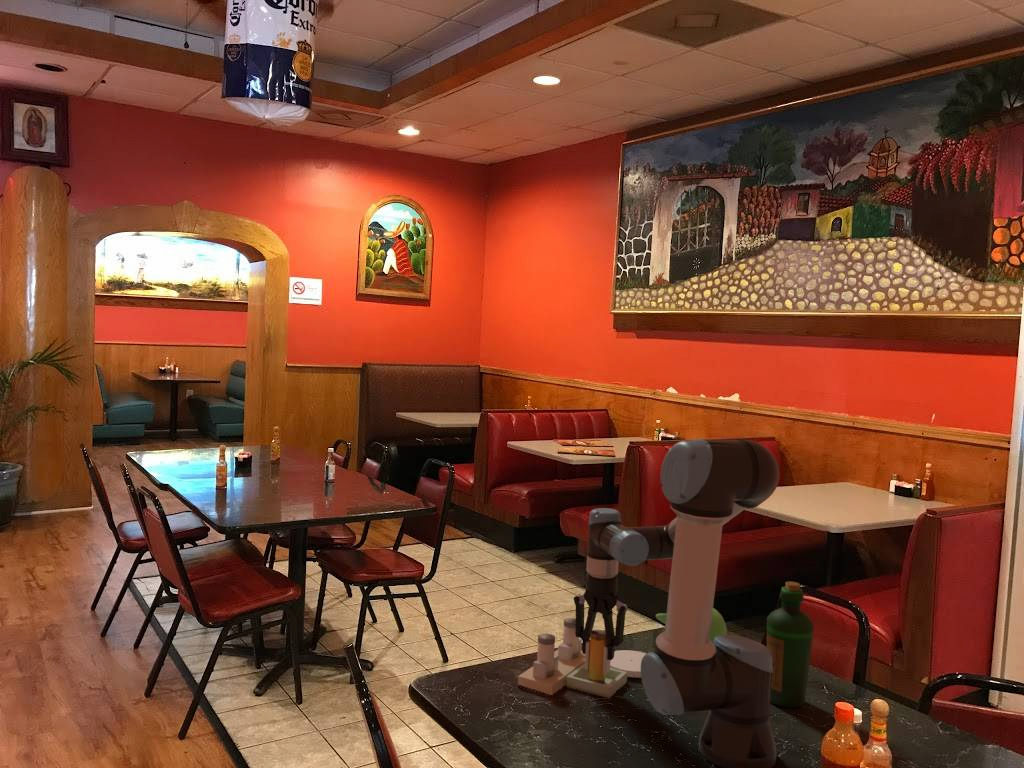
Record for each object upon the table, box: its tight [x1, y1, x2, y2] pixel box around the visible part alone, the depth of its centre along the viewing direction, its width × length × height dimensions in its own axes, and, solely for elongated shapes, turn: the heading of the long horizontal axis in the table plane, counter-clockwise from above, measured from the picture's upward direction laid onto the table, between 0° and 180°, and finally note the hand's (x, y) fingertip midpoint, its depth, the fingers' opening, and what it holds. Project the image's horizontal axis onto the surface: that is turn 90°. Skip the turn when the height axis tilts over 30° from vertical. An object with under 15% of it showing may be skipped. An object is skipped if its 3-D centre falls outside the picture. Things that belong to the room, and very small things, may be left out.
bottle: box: [766, 581, 815, 709], centre depth 196 cm, size 11×11×28 cm
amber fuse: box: [588, 629, 607, 684], centre depth 202 cm, size 4×4×12 cm
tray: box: [565, 663, 628, 699], centre depth 202 cm, size 11×11×2 cm
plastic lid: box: [610, 649, 647, 679], centre depth 213 cm, size 14×14×2 cm
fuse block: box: [517, 617, 585, 696], centre depth 207 cm, size 24×9×12 cm, turn 150°
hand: (597, 669), depth 202 cm, fingers closed on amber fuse, 4 cm apart
